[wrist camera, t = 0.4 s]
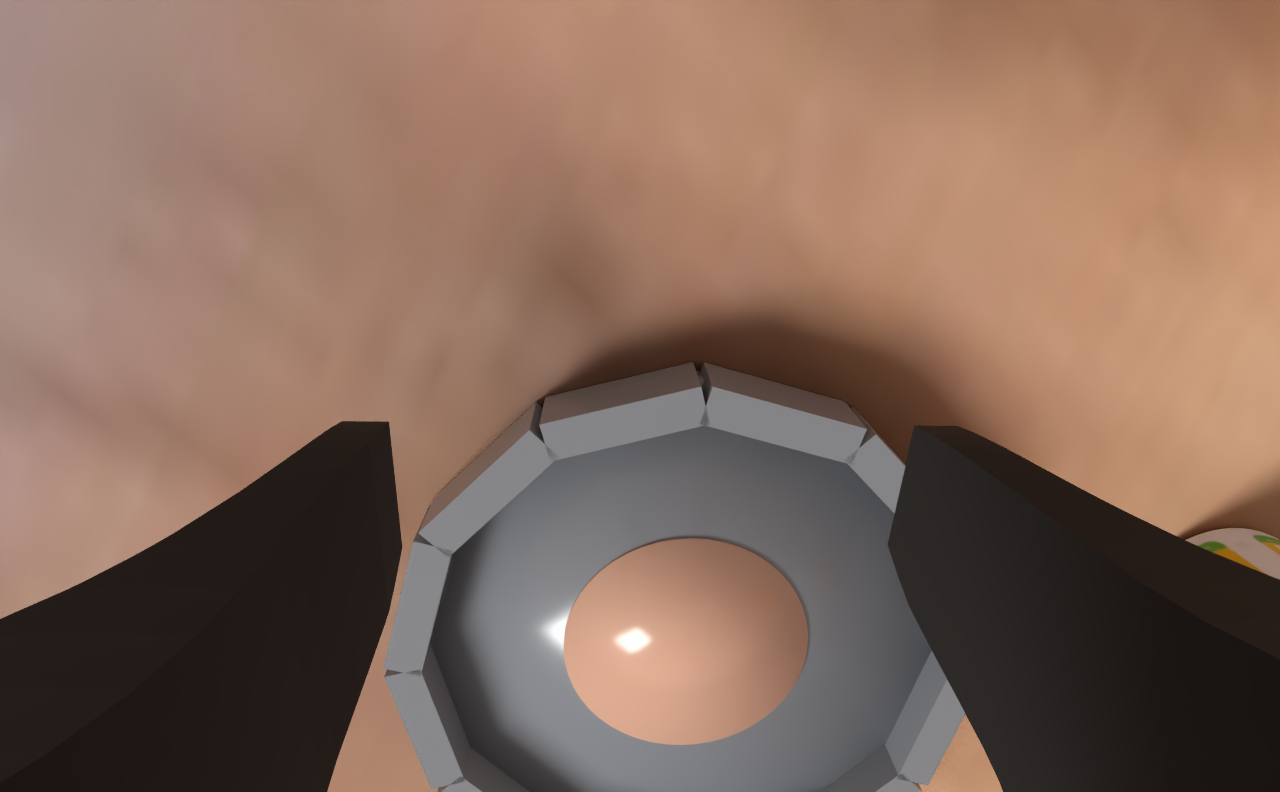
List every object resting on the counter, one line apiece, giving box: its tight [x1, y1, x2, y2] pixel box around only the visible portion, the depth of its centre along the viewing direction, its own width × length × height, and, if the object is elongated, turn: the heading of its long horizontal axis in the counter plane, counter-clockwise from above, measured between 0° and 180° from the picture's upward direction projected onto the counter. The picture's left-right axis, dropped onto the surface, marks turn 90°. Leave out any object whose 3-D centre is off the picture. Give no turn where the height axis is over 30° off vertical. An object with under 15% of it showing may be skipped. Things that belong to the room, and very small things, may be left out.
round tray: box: [383, 362, 965, 792], centre depth 23 cm, size 16×16×2 cm
